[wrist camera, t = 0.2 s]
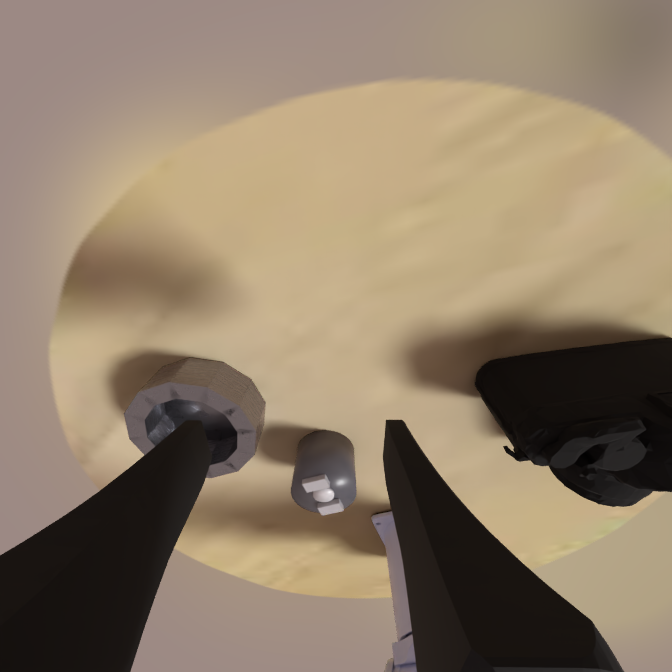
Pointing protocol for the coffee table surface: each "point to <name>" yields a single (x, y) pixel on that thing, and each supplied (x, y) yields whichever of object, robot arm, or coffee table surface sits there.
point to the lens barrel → (200, 411)
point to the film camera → (589, 416)
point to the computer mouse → (324, 473)
